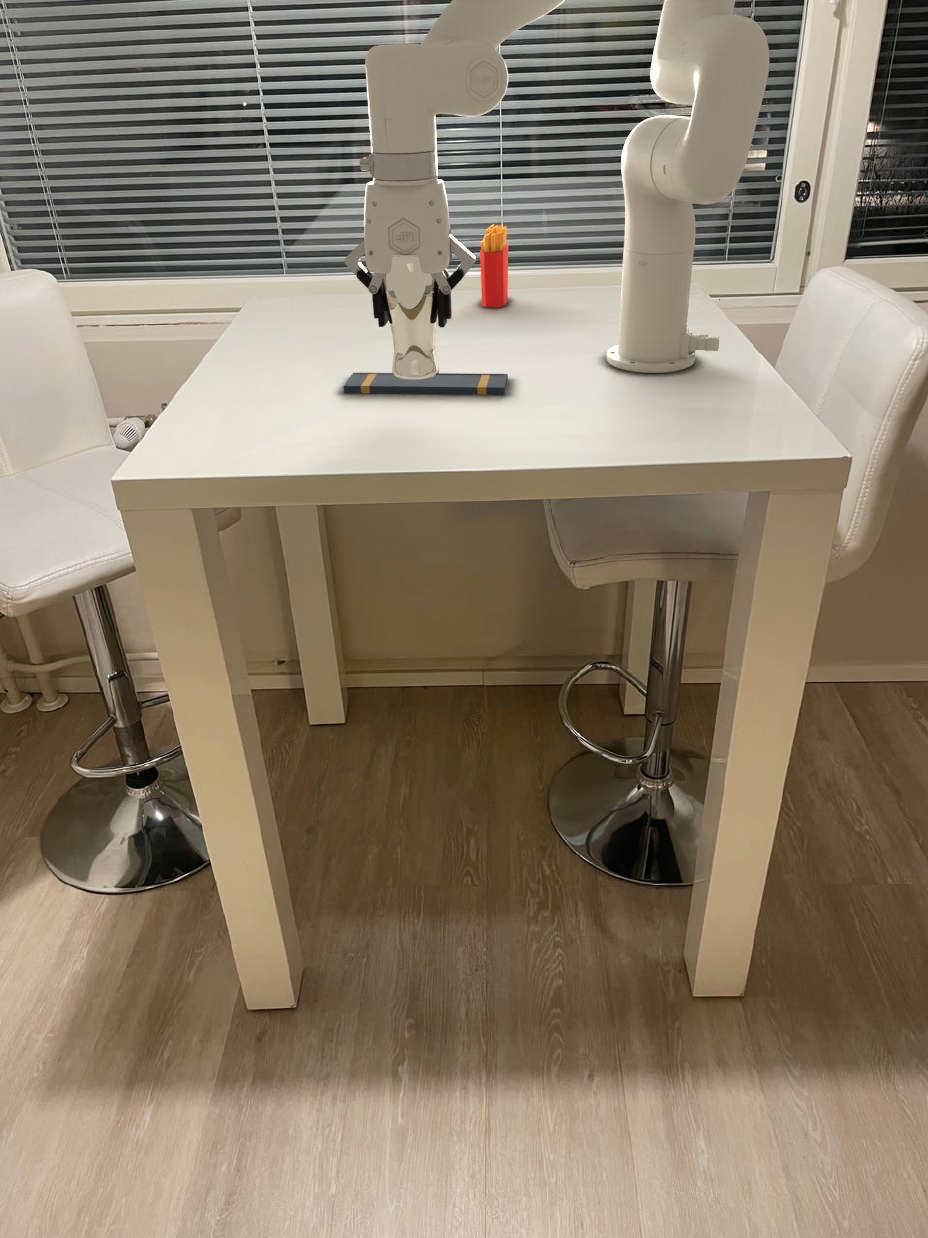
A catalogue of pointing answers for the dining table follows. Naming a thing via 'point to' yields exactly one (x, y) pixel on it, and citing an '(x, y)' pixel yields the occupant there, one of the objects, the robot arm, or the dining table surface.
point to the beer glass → (412, 317)
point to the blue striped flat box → (428, 384)
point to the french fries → (494, 267)
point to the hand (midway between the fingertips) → (413, 323)
